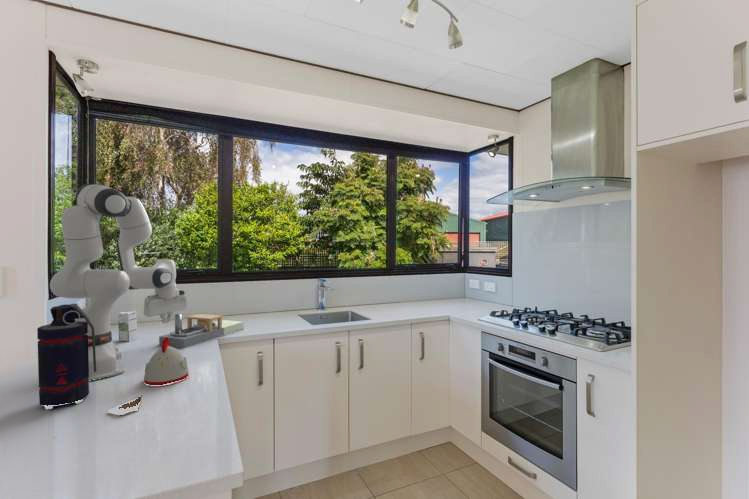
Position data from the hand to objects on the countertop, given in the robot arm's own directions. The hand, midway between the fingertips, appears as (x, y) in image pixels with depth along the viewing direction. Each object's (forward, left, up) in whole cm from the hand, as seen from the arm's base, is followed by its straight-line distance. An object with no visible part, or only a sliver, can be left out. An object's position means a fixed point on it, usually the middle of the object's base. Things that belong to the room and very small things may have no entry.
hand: (166, 322), depth 172 cm
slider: (+6, -15, -8) cm, 18 cm away
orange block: (+8, -21, -8) cm, 24 cm away
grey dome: (-43, +15, -12) cm, 47 cm away
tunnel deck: (+8, -21, -12) cm, 25 cm away
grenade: (-40, +42, -12) cm, 59 cm away
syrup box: (+30, +8, -12) cm, 33 cm away
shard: (-59, +32, -13) cm, 69 cm away
